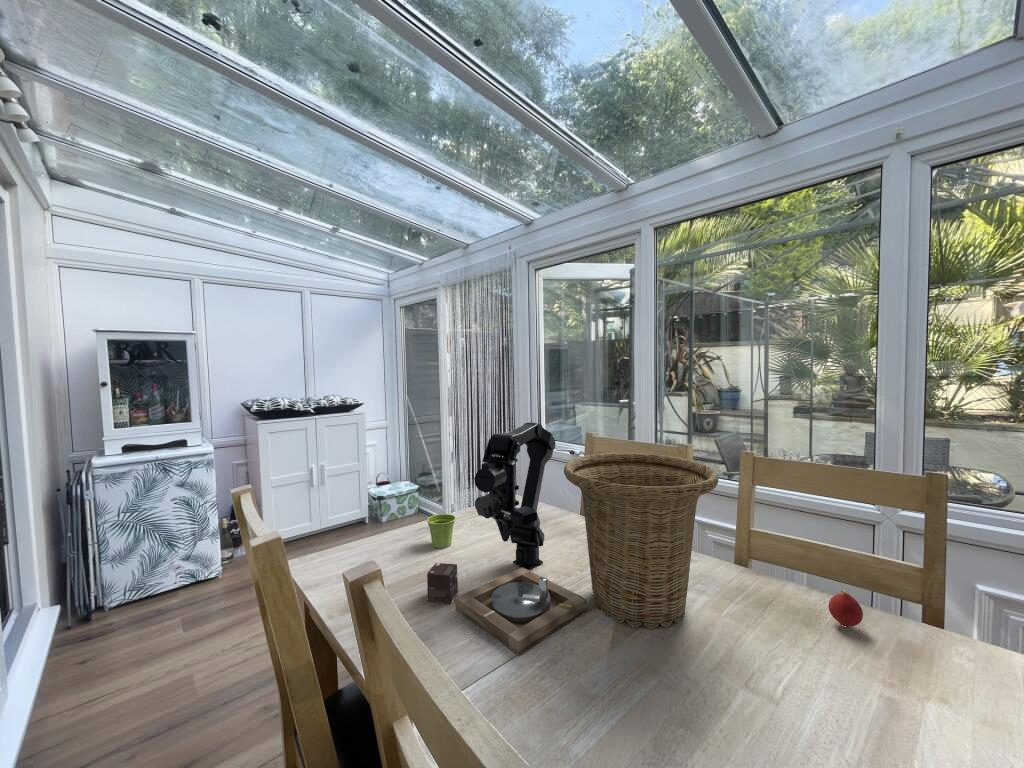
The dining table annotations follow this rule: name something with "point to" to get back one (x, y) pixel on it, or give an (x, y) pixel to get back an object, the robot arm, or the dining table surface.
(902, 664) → the dining table surface
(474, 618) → the square wooden tray
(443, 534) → the plant pot
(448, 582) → the box
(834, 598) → the onion
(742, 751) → the dining table surface
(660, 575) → the wicker basket
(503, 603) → the grey metal bowl
